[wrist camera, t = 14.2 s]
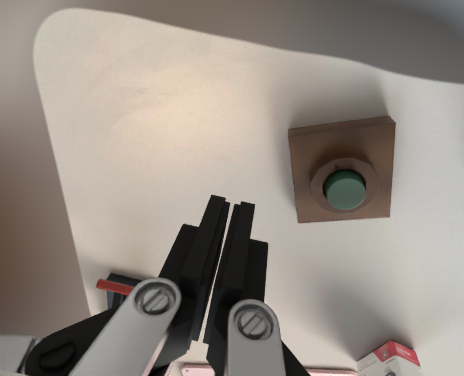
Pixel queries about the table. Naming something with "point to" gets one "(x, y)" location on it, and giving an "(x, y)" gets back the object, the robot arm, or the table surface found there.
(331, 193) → the button
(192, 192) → the table surface
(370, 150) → the block
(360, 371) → the ink box
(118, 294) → the lever
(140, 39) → the table surface
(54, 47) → the table surface
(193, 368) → the panel
